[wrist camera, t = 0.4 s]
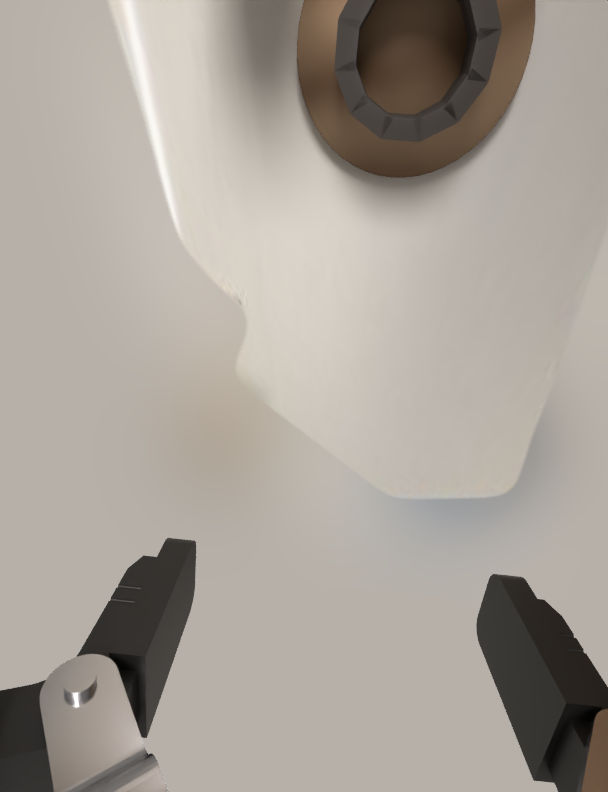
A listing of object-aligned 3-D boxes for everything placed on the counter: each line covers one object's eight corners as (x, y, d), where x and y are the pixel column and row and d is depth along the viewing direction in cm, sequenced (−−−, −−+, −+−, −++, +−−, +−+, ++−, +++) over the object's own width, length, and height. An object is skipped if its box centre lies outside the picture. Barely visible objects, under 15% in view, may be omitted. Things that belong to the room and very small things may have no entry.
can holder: (259, -12, 27) (244, -23, 24) (499, -186, 22) (521, -228, 19) (350, 208, 34) (348, 223, 31) (549, 112, 29) (572, 118, 26)
